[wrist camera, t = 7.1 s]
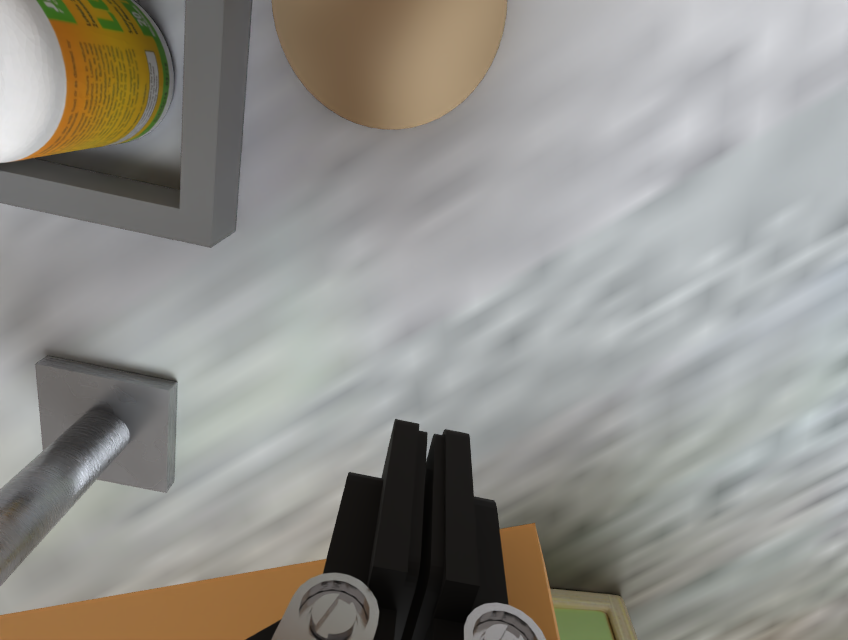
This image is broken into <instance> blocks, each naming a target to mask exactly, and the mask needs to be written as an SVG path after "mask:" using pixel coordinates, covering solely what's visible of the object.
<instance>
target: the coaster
mask: <svg viewBox="0 0 848 640" xmlns="http://www.w3.org/2000/svg"><path fill="white" fill-rule="evenodd" d="M272 11H273V17H274V22H275V27H276V31H277V34H278V37H279V40H280V44H281V47H282V49H283V51H284V53H285V56H286V58H287V60H288V62H289V64H290V65H291V67H292V69H293V70H294V72H295V74H296V76H297V77H298V78H299V79H300V81H301V82H302V83H303V85H304V86H305V87H306V89H307V90H308V91H309V92H310V93H311V94H312V95H313V96H314V97H315V98H316V99H317V100H318V101H320V102H321V103H322V104H323V105H324V106H326V107H327V108H328V109H330V110H331V111H333V112H334V113H336V114H338V115H339V116H341V117H343V118H345V119H347V120H350V121H352V122H354V123H357V124H360V125H363V126H367V127H371V128H378V129H405V128H412V127H416V126H420V125H423V124H426V123H429V122H431V121H433V120H436V119H438V118H440V117H442V116H443V115H445V114H447V113H448V112H450V111H452V110H453V109H454V108H455V107H457V106H458V105H459V104H460V103H462V102H463V101H464V100H465V99H466V98H467V97H468V96H469V95H470V94H471V93H472V92H473V91H474V90H475V88H476V87H477V86H478V84H479V83H480V82H481V80H482V79H483V78H484V76H485V74H486V72H487V71H488V69H489V67H490V66H491V64H492V62H493V59H494V57H495V55H496V52H497V50H498V48H499V44H500V41H501V38H502V34H503V30H504V25H505V19H506V11H507V0H272Z"/></svg>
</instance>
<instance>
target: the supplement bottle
mask: <svg viewBox="0 0 848 640" xmlns="http://www.w3.org/2000/svg"><path fill="white" fill-rule="evenodd" d="M173 89H174V72H173V65H172V60H171V56H170V52H169V49H168V47H167V44H166V42H165V40H164V38H163V36H162V33H161V32H160V30H159V28H158V27H157V25H156V24H155V22H154V21H153V20H152V18H151V17H150V16H149V15H148V14H147V13H146V11H145V10H144V9H143V8H142V7H141V6H140V5H138V4H137V3H136V2H135V1H134V0H0V163H6V162H13V161H20V160H25V159H31V158H36V157H42V156H47V155H53V154H59V153H66V152H71V151H77V150H83V149H89V148H95V147H102V146H109V145H115V144H120V143H125V142H129V141H133V140H136V139H139V138H141V137H143V136H145V135H147V134H148V133H150V132H151V131H152V130H154V129H155V128H156V127H157V126H158V125H159V124H160V122H161V121H162V119H163V118H164V116H165V114H166V113H167V111H168V108H169V106H170V103H171V100H172V95H173Z"/></svg>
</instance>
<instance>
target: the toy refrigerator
mask: <svg viewBox="0 0 848 640" xmlns="http://www.w3.org/2000/svg"><path fill="white" fill-rule="evenodd" d="M550 591H551V596H552V601H553V606H554V611H555V616H556V621H557V626H558V631H559V636H560V640H638V639H637V636H636V633H635V630H634V628H633V625H632V622H631V619H630V617H629V614H628V611H627V608H626V606H625V603H624V601H623V599H622V597H620V596H618V595H611V594H601V593H591V592H581V591H571V590H560V589H550Z"/></svg>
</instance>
